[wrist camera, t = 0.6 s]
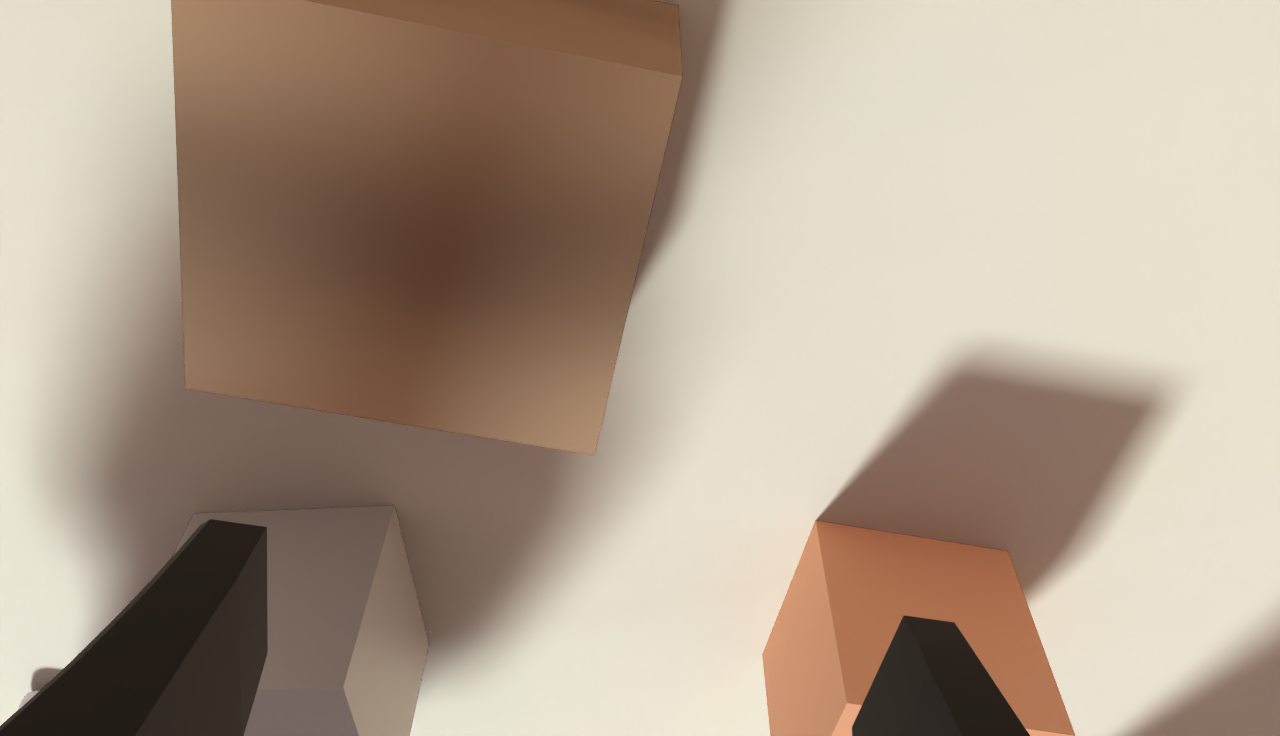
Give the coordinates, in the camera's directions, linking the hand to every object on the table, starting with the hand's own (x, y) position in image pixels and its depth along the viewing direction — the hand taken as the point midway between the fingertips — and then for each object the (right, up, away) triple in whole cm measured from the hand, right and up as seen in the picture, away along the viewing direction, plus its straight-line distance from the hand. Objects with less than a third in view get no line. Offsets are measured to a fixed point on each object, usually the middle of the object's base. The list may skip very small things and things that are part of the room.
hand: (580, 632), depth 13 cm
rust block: (+6, -3, +14) cm, 15 cm away
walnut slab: (-3, +7, +7) cm, 11 cm away
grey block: (-7, -2, +13) cm, 15 cm away
